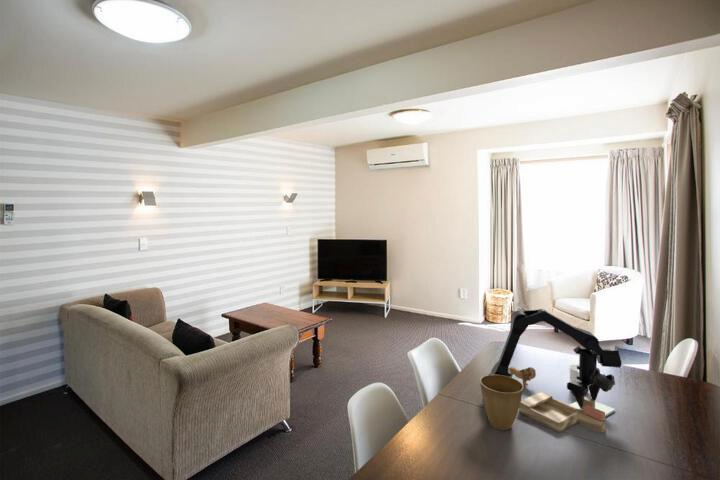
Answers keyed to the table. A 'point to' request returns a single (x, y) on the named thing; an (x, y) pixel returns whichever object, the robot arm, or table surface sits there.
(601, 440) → the table surface
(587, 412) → the block
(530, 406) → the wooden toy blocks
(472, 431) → the table surface
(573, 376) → the white cup
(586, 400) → the lid
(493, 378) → the plant pot
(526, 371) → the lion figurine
